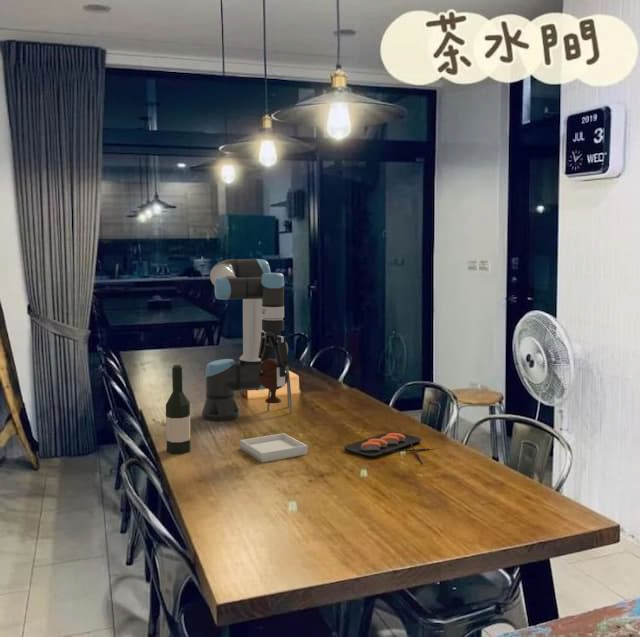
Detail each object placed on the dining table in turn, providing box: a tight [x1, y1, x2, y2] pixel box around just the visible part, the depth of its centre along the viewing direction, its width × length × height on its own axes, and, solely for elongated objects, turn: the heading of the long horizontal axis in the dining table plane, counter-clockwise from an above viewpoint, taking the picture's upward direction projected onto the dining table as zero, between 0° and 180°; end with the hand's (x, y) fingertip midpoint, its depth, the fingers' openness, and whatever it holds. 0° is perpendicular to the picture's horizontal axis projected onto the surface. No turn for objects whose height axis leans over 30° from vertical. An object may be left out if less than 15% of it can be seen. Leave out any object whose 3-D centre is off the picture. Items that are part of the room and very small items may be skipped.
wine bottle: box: [165, 364, 192, 455], centre depth 232 cm, size 8×8×30 cm
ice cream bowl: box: [257, 358, 290, 404], centre depth 230 cm, size 11×11×15 cm
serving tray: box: [239, 432, 309, 463], centre depth 233 cm, size 17×17×3 cm
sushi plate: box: [343, 431, 429, 465], centre depth 234 cm, size 29×30×4 cm
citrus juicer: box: [266, 342, 293, 415], centre depth 289 cm, size 11×10×30 cm
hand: (273, 382), depth 231 cm, fingers closed on ice cream bowl, 11 cm apart
